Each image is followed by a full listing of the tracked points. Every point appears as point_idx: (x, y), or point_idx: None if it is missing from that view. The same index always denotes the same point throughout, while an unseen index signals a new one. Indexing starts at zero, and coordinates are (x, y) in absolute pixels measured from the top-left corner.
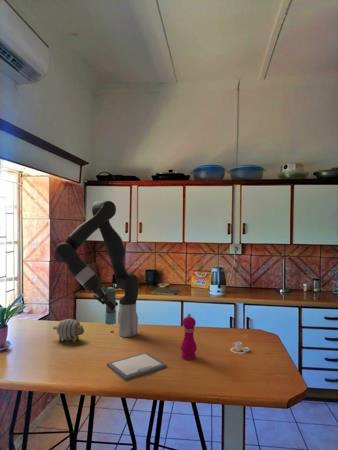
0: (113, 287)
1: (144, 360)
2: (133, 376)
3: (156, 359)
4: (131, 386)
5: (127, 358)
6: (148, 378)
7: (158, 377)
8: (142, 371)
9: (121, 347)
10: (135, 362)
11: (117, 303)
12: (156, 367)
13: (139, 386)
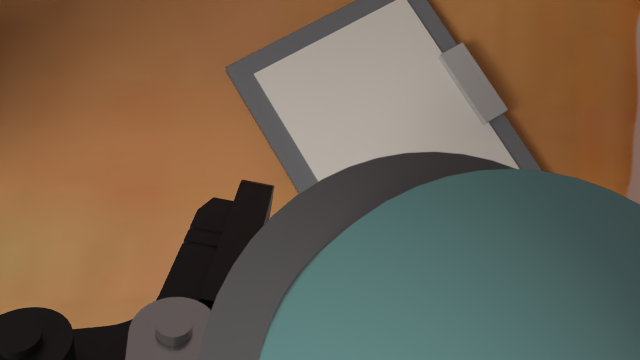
0: (365, 257)
1: (354, 84)
2: (525, 152)
3: (337, 17)
4: (605, 165)
5: (310, 184)
6: (526, 81)
7: (516, 33)
8: (498, 101)
9: (81, 231)
10: (378, 136)
11: (263, 187)
12: (439, 28)
13: (603, 127)
